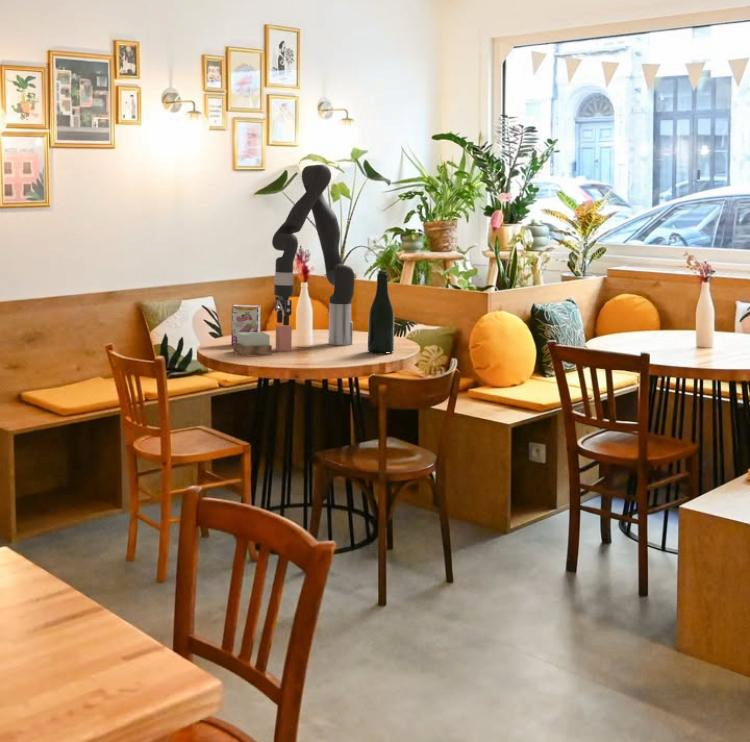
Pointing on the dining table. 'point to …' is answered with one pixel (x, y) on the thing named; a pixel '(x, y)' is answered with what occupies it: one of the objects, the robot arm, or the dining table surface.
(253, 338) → the painted slab
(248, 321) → the candy bar box
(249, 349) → the tan shallow square tray
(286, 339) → the brick-red block
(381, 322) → the beer bottle
